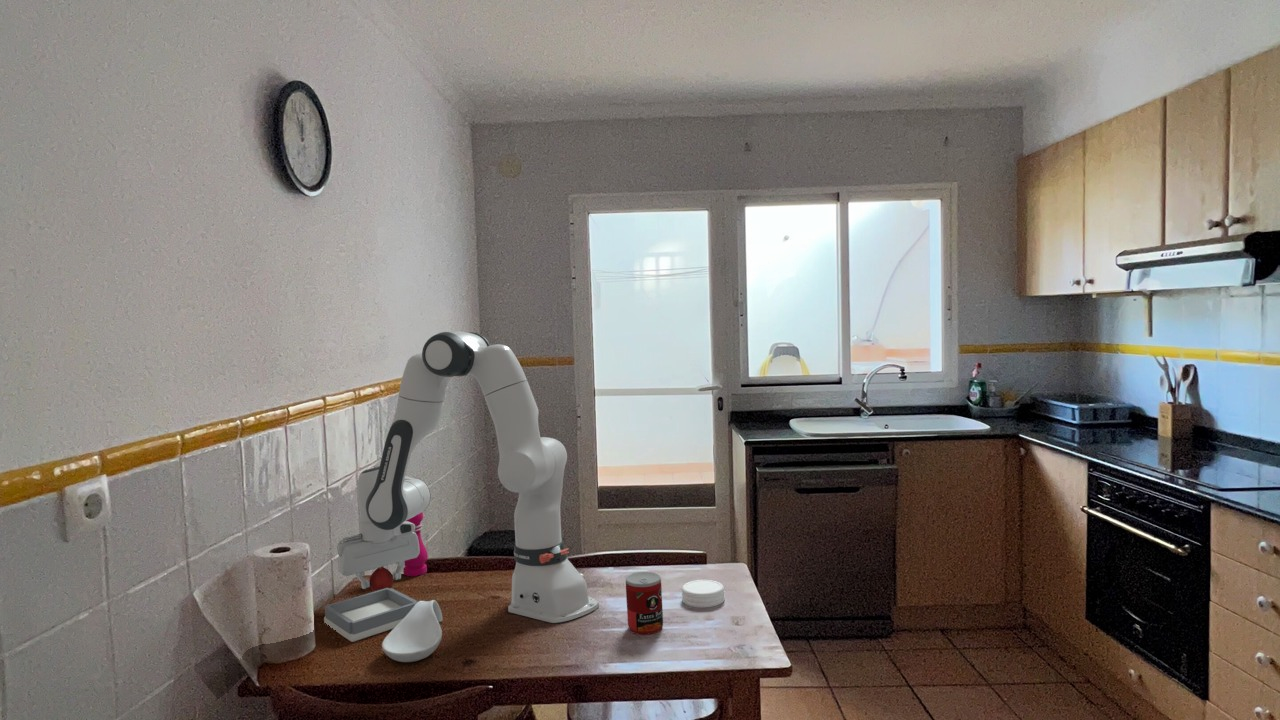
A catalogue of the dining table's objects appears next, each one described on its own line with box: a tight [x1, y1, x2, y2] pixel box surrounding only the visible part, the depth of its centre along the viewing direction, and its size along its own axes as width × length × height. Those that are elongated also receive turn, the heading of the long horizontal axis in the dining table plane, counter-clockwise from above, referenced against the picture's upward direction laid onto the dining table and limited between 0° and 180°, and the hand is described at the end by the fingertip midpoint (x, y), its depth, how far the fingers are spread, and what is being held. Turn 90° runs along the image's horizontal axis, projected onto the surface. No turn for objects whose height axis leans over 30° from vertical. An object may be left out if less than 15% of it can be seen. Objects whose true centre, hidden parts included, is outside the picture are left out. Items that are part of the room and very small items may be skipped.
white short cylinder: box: [681, 579, 726, 609], centre depth 170 cm, size 10×10×4 cm
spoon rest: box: [381, 599, 444, 663], centre depth 154 cm, size 24×12×7 cm, turn 5°
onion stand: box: [323, 587, 419, 643], centre depth 167 cm, size 16×16×4 cm
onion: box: [368, 566, 394, 592], centre depth 184 cm, size 6×6×8 cm
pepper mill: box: [402, 512, 429, 577], centre depth 201 cm, size 7×7×20 cm
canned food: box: [625, 571, 664, 636], centre depth 156 cm, size 8×8×11 cm
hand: (381, 583), depth 184 cm, fingers open, 7 cm apart
